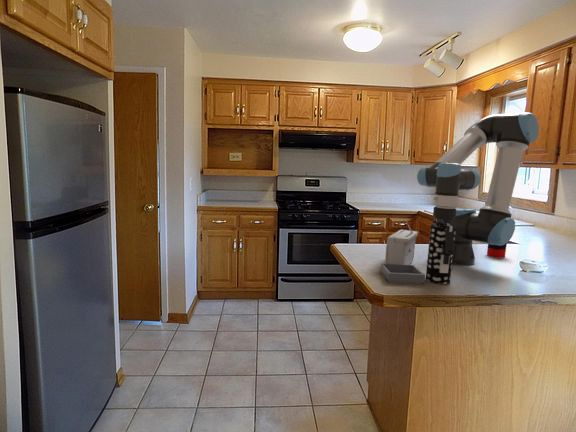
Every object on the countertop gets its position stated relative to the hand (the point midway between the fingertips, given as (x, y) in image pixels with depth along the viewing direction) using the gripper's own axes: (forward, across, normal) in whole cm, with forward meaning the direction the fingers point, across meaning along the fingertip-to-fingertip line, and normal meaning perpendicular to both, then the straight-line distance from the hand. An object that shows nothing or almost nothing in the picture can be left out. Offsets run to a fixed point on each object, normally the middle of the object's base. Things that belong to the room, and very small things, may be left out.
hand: (438, 268), depth 137 cm
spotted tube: (+5, 0, 0) cm, 5 cm away
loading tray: (+4, -1, -13) cm, 14 cm away
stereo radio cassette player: (+5, -20, -8) cm, 22 cm away
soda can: (+5, -42, +43) cm, 60 cm away
